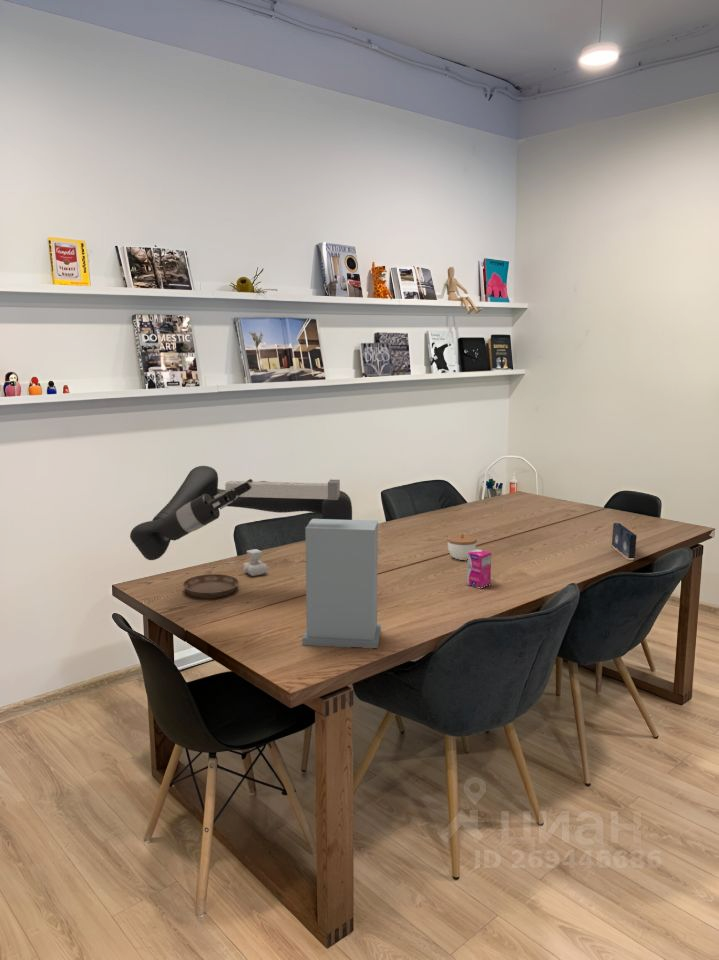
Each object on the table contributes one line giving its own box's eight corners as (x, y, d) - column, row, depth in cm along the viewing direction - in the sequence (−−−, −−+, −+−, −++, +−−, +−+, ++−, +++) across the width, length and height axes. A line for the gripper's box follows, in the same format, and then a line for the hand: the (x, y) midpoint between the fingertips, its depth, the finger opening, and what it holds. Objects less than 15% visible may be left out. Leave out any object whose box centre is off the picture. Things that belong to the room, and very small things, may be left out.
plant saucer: (250, 588, 243) (250, 579, 243) (212, 604, 228) (212, 595, 228) (210, 579, 252) (210, 570, 252) (171, 594, 238) (171, 585, 237)
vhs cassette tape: (635, 561, 273) (636, 535, 272) (626, 561, 273) (628, 535, 272) (618, 547, 291) (620, 522, 290) (611, 547, 291) (612, 522, 290)
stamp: (247, 579, 252) (247, 555, 251) (239, 574, 258) (238, 550, 256) (271, 574, 257) (270, 551, 255) (262, 569, 262) (262, 546, 261)
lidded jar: (475, 554, 281) (475, 530, 279) (476, 563, 271) (477, 538, 269) (446, 553, 282) (447, 529, 280) (447, 562, 272) (447, 537, 270)
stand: (302, 645, 198) (300, 528, 192) (310, 627, 210) (309, 517, 204) (377, 648, 196) (377, 531, 190) (380, 631, 208) (381, 519, 202)
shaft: (225, 496, 197) (224, 480, 196) (229, 493, 201) (229, 476, 200) (337, 499, 193) (337, 483, 192) (339, 496, 198) (339, 479, 197)
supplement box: (466, 585, 246) (467, 552, 244) (476, 581, 250) (477, 548, 248) (480, 589, 242) (481, 555, 240) (491, 585, 246) (492, 552, 244)
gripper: (181, 507, 193) (236, 476, 190) (199, 496, 207) (250, 466, 204) (196, 532, 194) (251, 501, 191) (213, 519, 208) (264, 490, 205)
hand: (250, 483), depth 197 cm, fingers closed on shaft, 3 cm apart
